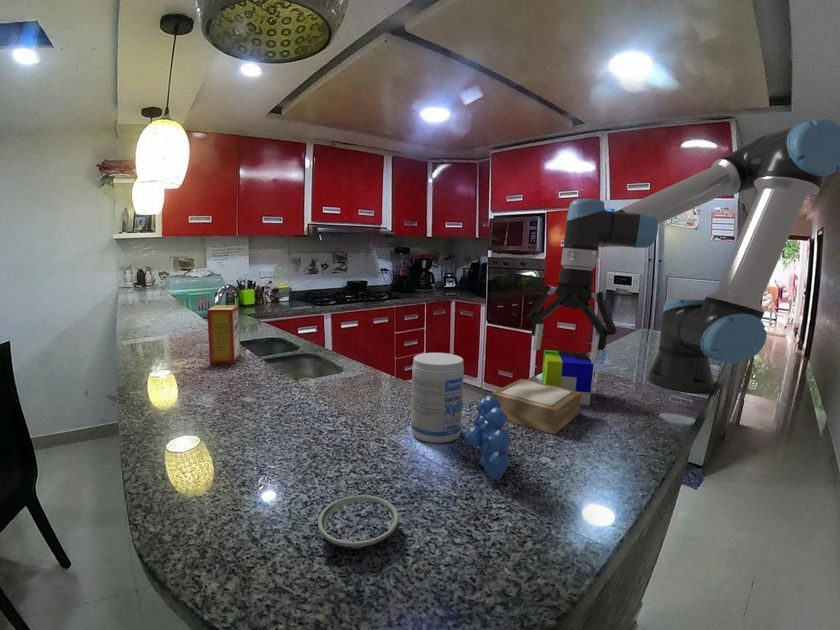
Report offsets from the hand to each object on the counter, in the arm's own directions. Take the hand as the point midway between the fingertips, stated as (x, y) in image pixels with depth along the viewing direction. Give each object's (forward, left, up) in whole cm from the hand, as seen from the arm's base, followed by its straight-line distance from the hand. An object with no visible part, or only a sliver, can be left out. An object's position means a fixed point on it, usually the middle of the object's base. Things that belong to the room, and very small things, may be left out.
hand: (564, 357), depth 103 cm
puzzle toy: (-1, -1, -10) cm, 10 cm away
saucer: (0, +67, -10) cm, 68 cm away
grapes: (-4, +44, -10) cm, 45 cm away
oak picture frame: (0, +16, -10) cm, 18 cm away
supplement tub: (+10, +38, -10) cm, 40 cm away
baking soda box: (+88, +39, -10) cm, 96 cm away
